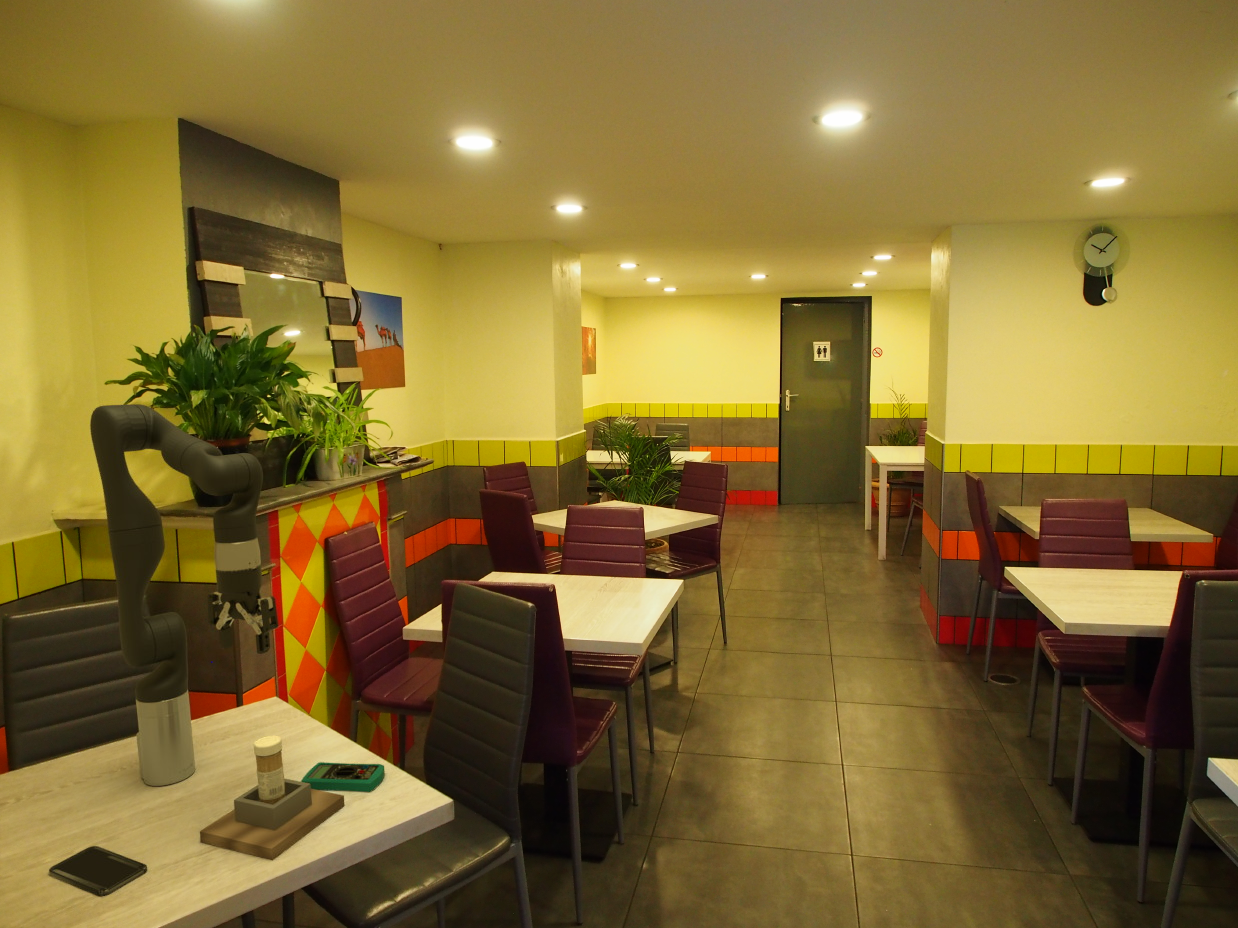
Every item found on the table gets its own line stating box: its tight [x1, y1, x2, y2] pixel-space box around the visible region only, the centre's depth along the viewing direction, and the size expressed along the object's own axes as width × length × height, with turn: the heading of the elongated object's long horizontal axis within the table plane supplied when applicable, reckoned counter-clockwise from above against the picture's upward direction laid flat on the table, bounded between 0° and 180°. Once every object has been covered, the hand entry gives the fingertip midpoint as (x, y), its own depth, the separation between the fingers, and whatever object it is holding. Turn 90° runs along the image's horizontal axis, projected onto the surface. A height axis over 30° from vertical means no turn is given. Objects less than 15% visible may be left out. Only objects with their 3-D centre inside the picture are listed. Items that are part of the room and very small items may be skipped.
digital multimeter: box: [300, 761, 385, 793], centre depth 163 cm, size 7×15×3 cm, turn 84°
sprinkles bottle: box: [253, 735, 285, 805], centre depth 148 cm, size 5×5×13 cm
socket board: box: [199, 789, 345, 861], centre depth 148 cm, size 16×18×2 cm
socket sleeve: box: [233, 777, 312, 830], centre depth 148 cm, size 9×9×4 cm
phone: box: [48, 845, 148, 897], centre depth 135 cm, size 8×1×15 cm
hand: (245, 650), depth 151 cm, fingers open, 8 cm apart
